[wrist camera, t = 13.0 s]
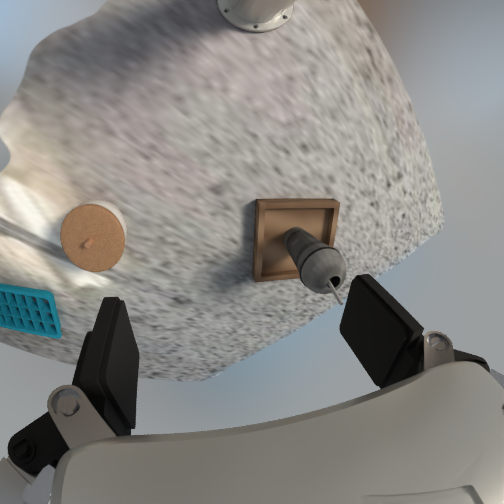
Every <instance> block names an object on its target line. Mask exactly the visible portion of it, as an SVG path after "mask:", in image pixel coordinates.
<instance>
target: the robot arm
mask: <svg viewBox="0 0 504 504" xmlns="http://www.w3.org/2000/svg"><path fill="white" fill-rule="evenodd" d="M295 1H297V0H217V4H218V8H219V11H220V13H221V14H222V16H223V17H224V18H225V19H226V20H227V21H228V22H229V23H231V24H233V25H234V26H236V27H238V28H240V29H243V30H247V31H252V32H267V31H272V30H275V29H277V28H279V27H281V26H282V25H284V24H285V23H286V22H287V21H288V20H289V19H290V17H291V16H292V13H293V10H294V2H295ZM225 11H226V12H227V13H226V12H225ZM283 18H284V19H283ZM254 27H256V29H255V28H254ZM423 330H424V328H423V327H422V326H421V325H420V324H419V323H418V322H417V321H416V320H415V319H414V318H413V317H412V315H410V314H409V312H408V311H407V310H405V309H404V307H403V306H401V305H400V303H398V302H397V300H396V299H394V297H393V296H391V295H390V294H389V293H388V292H387V291H386V290H385V289H384V288H383V287H382V286H381V285H380V284H379V283H378V282H377V281H376V280H375V279H374V278H373V277H372V276H371V275H369V274H363V275H357V276H356V277H355V278H354V279H353V280H352V282H351V286H350V290H349V294H348V298H347V302H346V306H345V309H344V313H343V316H342V320H341V323H340V333H341V335H342V336H343V337H344V339H345V340H346V342H347V343H348V345H349V346H350V348H351V349H352V351H353V352H354V354H355V355H356V357H357V358H358V360H359V361H360V362H361V364H362V365H363V367H364V368H365V370H366V371H367V373H368V374H369V376H370V377H371V379H372V380H373V382H374V383H375V385H376V386H379V387H380V388H381V389H380V390H378V391H375V392H372V393H370V394H367V395H364V396H361V397H358V398H355V399H352V400H350V401H346V402H343V403H340V404H337V405H334V406H330V407H327V408H323V409H320V410H316V411H312V412H309V413H305V414H301V415H296V416H292V417H288V418H284V419H279V420H274V421H269V422H264V423H258V424H253V425H247V426H241V427H234V428H226V429H219V430H210V431H199V432H188V433H174V434H151V435H131V429H135V425H136V424H135V423H136V398H137V382H138V369H139V350H138V347H137V344H136V341H135V338H134V334H133V331H132V327H131V324H130V320H129V317H128V313H127V309H126V306H125V302H124V301H123V300H120V299H119V297H104V299H103V301H102V304H101V307H100V310H99V313H98V316H97V319H96V322H95V325H94V328H93V331H89V332H88V333H87V334H86V336H85V340H84V343H83V346H82V349H81V353H80V356H79V359H78V363H77V366H76V370H75V374H74V378H73V382H72V385H63V386H60V387H58V388H56V389H55V390H54V391H53V392H52V393H51V394H50V396H49V398H48V402H47V407H48V412H47V413H45V414H44V415H42V416H41V417H39V418H38V419H36V420H35V421H33V422H32V423H31V424H29V425H28V426H26V427H25V428H23V429H22V430H20V431H19V432H17V433H16V434H14V436H12V437H11V439H10V441H9V443H8V455H9V456H8V458H7V459H5V458H4V457H3V458H2V460H1V461H0V504H48V502H49V500H50V499H51V501H50V504H504V375H502V374H500V373H498V372H497V371H495V370H493V369H491V370H490V369H489V366H488V364H487V362H486V361H485V360H484V359H483V358H481V357H479V356H476V355H472V354H469V353H465V352H462V351H458V350H455V349H453V345H452V342H451V340H450V339H449V338H448V337H447V336H446V335H445V334H443V333H441V332H438V331H429V332H427V333H426V334H425V335H424V336H423V335H422V332H423ZM50 493H51V496H50Z"/></svg>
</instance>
